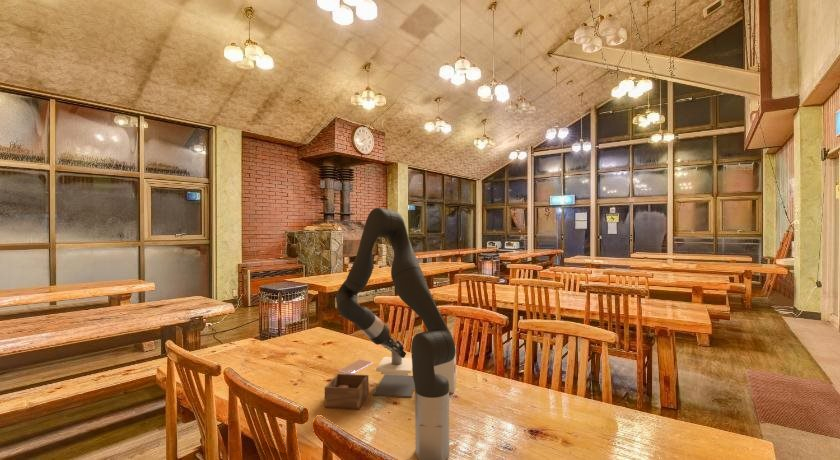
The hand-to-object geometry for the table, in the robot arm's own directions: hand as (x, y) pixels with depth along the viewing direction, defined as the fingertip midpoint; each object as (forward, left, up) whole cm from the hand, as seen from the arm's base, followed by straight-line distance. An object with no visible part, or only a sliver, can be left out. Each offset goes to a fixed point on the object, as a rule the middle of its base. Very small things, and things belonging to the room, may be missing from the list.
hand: (400, 354), depth 147 cm
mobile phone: (+16, +23, -12) cm, 30 cm away
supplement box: (0, -17, -12) cm, 21 cm away
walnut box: (-15, +16, -12) cm, 25 cm away
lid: (-1, +1, -6) cm, 6 cm away
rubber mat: (-1, +1, -12) cm, 12 cm away
